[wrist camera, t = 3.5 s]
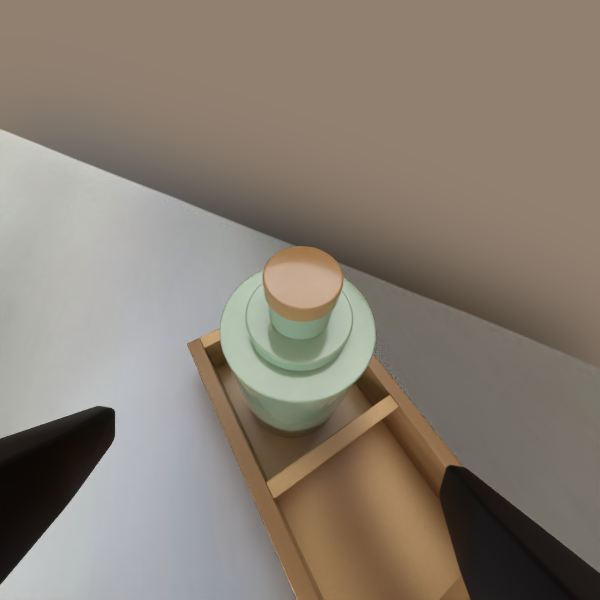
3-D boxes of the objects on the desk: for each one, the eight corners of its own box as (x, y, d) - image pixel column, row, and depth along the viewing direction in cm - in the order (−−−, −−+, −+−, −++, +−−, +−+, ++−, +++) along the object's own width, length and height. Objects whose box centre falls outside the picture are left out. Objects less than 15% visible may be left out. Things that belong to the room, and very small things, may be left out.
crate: (358, 718, 12) (386, 810, 9) (202, 366, 20) (186, 343, 17) (495, 559, 15) (554, 581, 12) (312, 310, 23) (316, 281, 20)
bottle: (274, 460, 17) (259, 424, 6) (231, 372, 20) (170, 246, 9) (356, 403, 19) (448, 306, 8) (306, 331, 22) (327, 190, 11)
